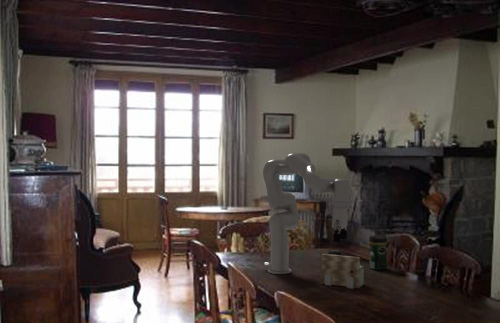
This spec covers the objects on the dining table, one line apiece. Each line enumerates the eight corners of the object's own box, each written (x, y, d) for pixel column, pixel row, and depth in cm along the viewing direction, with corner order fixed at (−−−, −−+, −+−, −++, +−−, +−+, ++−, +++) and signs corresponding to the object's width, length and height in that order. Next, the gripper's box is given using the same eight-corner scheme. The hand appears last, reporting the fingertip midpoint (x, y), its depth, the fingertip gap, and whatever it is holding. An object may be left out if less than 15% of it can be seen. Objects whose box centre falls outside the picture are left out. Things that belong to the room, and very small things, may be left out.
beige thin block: (321, 283, 256) (321, 254, 256) (323, 282, 259) (323, 253, 259) (357, 288, 248) (357, 258, 248) (359, 286, 251) (359, 257, 251)
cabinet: (320, 284, 256) (320, 266, 256) (328, 280, 265) (328, 262, 265) (357, 289, 247) (357, 270, 247) (363, 284, 257) (363, 265, 257)
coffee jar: (380, 266, 298) (381, 233, 298) (389, 269, 291) (389, 235, 290) (366, 267, 294) (366, 234, 294) (374, 270, 287) (374, 236, 287)
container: (341, 278, 269) (342, 252, 269) (326, 277, 271) (326, 252, 271) (342, 274, 277) (342, 250, 277) (327, 274, 278) (327, 249, 278)
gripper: (339, 202, 263) (338, 237, 263) (327, 205, 248) (326, 242, 248) (354, 203, 259) (353, 238, 260) (343, 207, 244) (341, 244, 245)
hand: (340, 240), depth 254 cm, fingers open, 9 cm apart
